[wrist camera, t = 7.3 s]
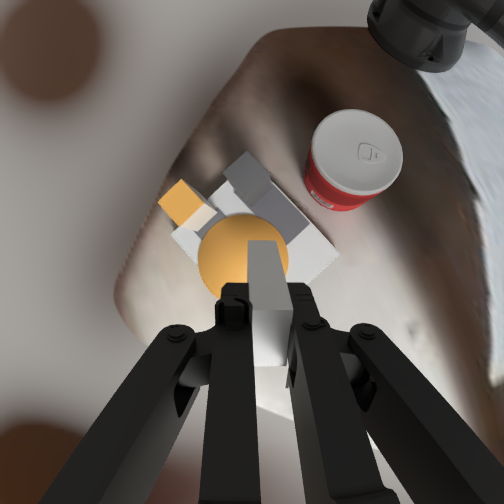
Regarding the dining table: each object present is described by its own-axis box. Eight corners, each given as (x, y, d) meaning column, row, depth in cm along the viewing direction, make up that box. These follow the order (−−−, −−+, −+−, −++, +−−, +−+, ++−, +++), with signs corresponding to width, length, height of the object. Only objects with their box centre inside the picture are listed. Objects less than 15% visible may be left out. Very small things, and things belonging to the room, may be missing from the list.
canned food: (374, 211, 35) (410, 192, 24) (306, 214, 35) (316, 196, 24) (366, 147, 35) (394, 109, 24) (300, 149, 36) (306, 108, 25)
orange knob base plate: (252, 164, 36) (243, 139, 28) (338, 255, 35) (354, 254, 27) (171, 240, 37) (142, 236, 29) (254, 332, 36) (246, 352, 28)
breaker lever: (199, 192, 34) (181, 178, 28) (217, 212, 34) (202, 202, 27) (179, 211, 34) (157, 202, 28) (197, 231, 34) (178, 225, 28)
